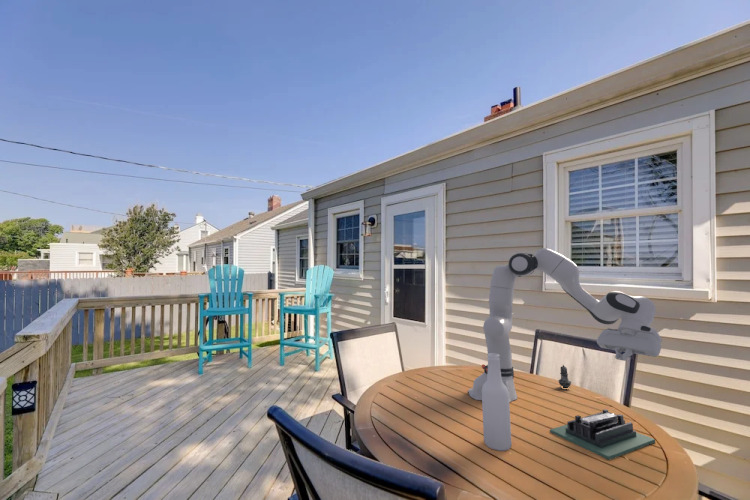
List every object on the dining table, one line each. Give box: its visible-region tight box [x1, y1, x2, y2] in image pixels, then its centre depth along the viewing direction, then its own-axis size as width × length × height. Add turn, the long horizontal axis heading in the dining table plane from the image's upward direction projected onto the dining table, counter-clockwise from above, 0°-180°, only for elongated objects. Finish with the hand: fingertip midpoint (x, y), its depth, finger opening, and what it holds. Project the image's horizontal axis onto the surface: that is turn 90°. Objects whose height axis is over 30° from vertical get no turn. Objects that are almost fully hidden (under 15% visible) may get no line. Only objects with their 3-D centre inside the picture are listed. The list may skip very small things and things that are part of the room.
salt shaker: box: [557, 364, 572, 388], centre depth 162 cm, size 6×6×12 cm
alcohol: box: [481, 353, 512, 452], centre depth 107 cm, size 9×9×30 cm
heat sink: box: [565, 408, 637, 448], centre depth 111 cm, size 20×12×6 cm, turn 114°
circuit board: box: [549, 424, 656, 461], centre depth 111 cm, size 26×20×1 cm
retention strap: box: [581, 411, 618, 425], centre depth 111 cm, size 17×3×1 cm, turn 114°
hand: (620, 359), depth 119 cm, fingers closed
